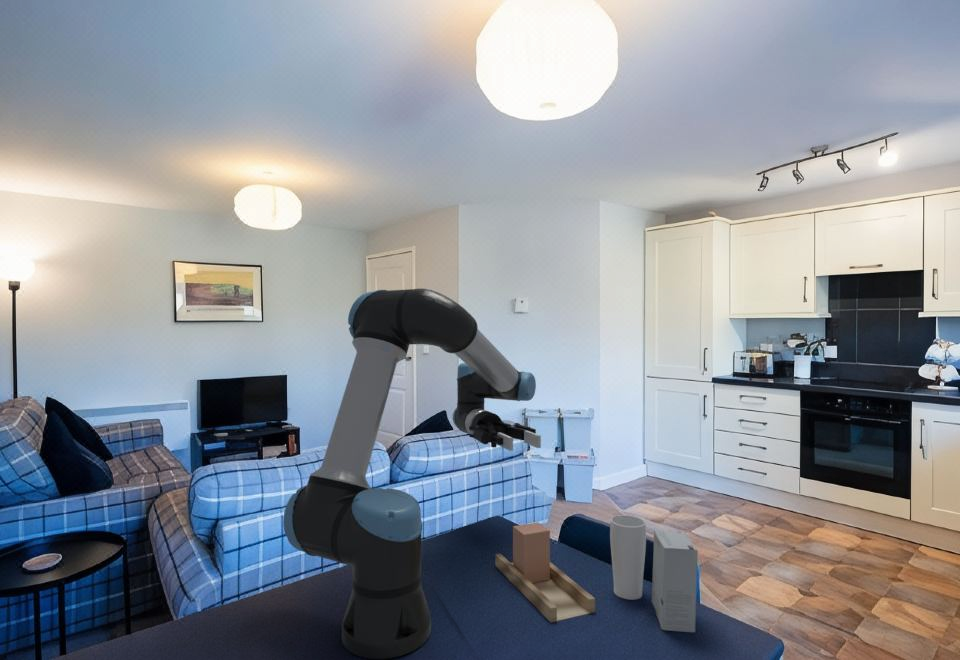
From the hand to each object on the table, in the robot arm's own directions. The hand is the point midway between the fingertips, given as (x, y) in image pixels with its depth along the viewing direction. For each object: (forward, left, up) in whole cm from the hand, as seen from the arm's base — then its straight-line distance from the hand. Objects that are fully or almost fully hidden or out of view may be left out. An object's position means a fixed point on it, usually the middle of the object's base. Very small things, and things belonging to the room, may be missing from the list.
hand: (525, 442), depth 111 cm
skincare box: (+27, -15, -28) cm, 42 cm away
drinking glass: (+20, -8, -28) cm, 36 cm away
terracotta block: (+1, -4, -27) cm, 27 cm away
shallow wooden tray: (+3, -8, -28) cm, 29 cm away
